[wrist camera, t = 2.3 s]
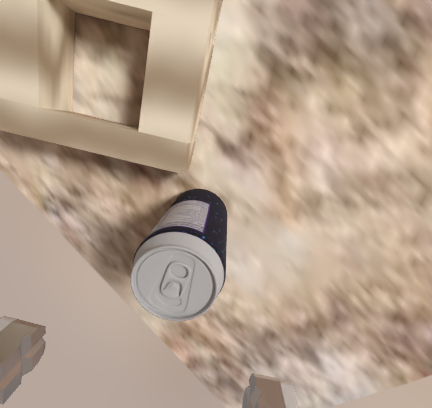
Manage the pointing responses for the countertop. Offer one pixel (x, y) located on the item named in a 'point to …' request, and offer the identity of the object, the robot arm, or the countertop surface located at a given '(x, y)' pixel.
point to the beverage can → (183, 258)
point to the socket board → (64, 67)
